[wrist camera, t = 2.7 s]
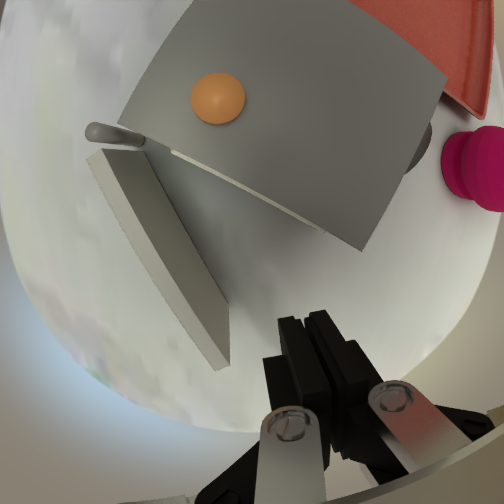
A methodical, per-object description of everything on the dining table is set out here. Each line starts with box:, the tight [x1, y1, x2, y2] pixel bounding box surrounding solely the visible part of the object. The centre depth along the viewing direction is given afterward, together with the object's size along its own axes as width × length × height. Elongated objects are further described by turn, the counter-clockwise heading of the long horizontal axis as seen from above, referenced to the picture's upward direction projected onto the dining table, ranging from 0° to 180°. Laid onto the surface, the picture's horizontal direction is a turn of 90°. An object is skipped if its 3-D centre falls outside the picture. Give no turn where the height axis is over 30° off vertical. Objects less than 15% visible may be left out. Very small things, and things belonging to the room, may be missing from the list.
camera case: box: [117, 0, 448, 252], centre depth 16 cm, size 12×15×9 cm
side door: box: [85, 122, 230, 371], centre depth 18 cm, size 2×15×8 cm, turn 26°
